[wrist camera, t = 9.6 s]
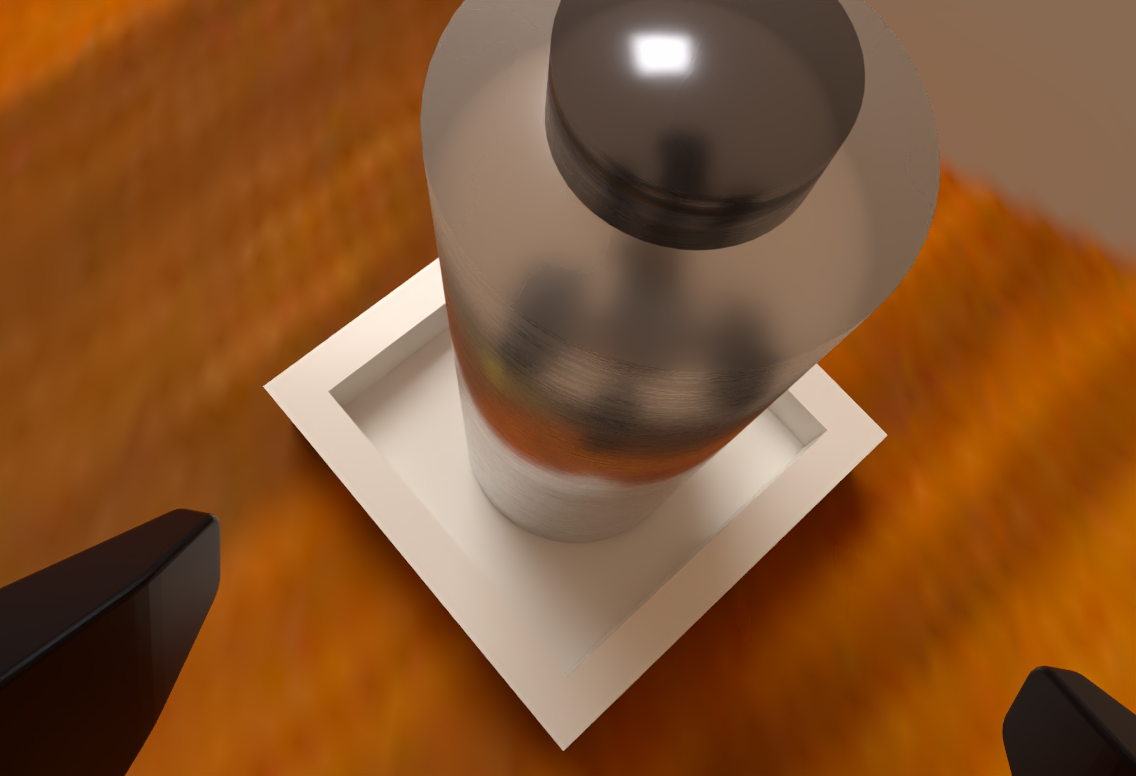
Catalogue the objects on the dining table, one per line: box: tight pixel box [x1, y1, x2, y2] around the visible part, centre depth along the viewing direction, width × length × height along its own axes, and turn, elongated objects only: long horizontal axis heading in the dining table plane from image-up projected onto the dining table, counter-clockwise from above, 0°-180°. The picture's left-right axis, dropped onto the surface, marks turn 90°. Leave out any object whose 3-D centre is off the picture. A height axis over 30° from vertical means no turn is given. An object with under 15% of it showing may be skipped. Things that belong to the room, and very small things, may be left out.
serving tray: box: [263, 258, 887, 751], centre depth 20 cm, size 10×10×2 cm
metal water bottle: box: [421, 0, 940, 543], centre depth 14 cm, size 5×5×14 cm
